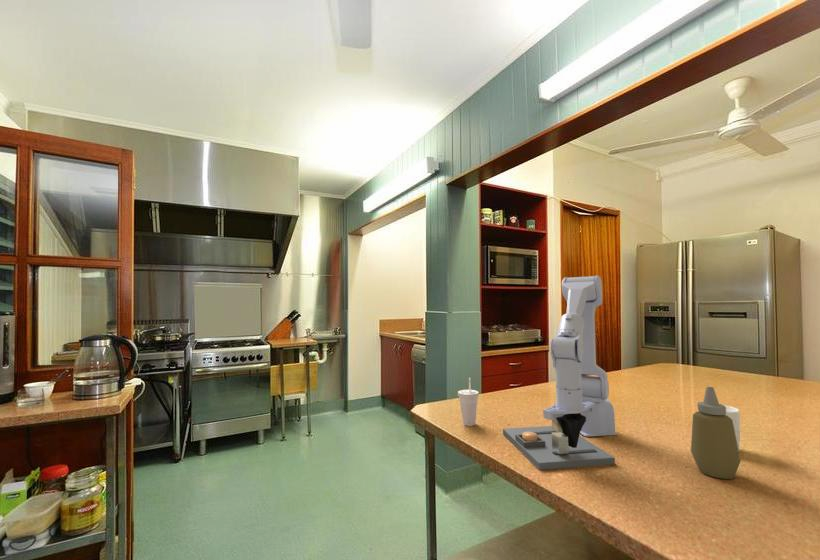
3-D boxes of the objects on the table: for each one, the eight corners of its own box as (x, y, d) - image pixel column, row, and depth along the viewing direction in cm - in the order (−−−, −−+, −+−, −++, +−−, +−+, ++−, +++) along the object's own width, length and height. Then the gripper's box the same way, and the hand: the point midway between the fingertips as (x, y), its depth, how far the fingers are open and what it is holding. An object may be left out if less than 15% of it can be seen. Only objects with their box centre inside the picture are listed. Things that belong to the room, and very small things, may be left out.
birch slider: (560, 428, 99) (559, 414, 100) (566, 431, 96) (565, 417, 97) (552, 428, 99) (551, 414, 99) (557, 432, 96) (556, 417, 96)
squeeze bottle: (692, 461, 82) (687, 381, 83) (740, 471, 77) (734, 386, 78) (691, 475, 76) (685, 388, 77) (743, 486, 71) (736, 393, 72)
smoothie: (479, 428, 107) (478, 380, 107) (457, 426, 108) (456, 379, 109) (479, 421, 113) (478, 375, 114) (459, 420, 114) (458, 375, 115)
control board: (563, 430, 103) (563, 420, 103) (615, 464, 81) (614, 451, 81) (502, 434, 101) (502, 424, 101) (539, 470, 79) (538, 457, 79)
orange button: (533, 439, 93) (533, 431, 93) (540, 444, 89) (539, 436, 89) (520, 440, 92) (519, 432, 92) (526, 445, 89) (525, 437, 89)
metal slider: (561, 448, 86) (561, 432, 86) (568, 453, 83) (567, 436, 83) (552, 448, 86) (551, 432, 86) (558, 454, 83) (558, 437, 83)
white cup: (727, 457, 84) (724, 413, 84) (692, 444, 91) (689, 404, 92) (751, 453, 86) (747, 410, 86) (715, 441, 93) (712, 401, 94)
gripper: (577, 381, 92) (580, 435, 91) (533, 387, 86) (535, 445, 85) (601, 386, 85) (604, 445, 85) (555, 393, 80) (558, 456, 79)
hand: (571, 446), depth 84 cm, fingers closed
